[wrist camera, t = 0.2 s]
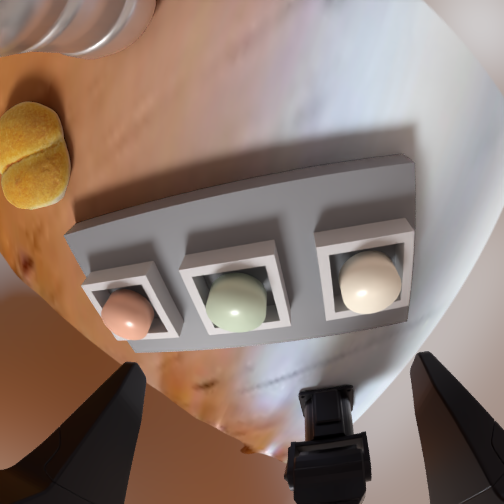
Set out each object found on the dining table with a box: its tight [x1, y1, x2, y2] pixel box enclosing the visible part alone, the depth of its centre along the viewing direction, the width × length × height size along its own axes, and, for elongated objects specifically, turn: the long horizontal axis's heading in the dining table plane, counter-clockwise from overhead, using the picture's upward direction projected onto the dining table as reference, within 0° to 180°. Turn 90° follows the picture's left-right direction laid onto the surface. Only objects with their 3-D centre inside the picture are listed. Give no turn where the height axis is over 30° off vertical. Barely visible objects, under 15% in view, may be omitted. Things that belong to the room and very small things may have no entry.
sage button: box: [206, 273, 267, 333], centre depth 21 cm, size 4×4×2 cm
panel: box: [64, 154, 415, 353], centre depth 23 cm, size 14×26×4 cm, turn 104°
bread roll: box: [0, 102, 71, 210], centre depth 18 cm, size 8×9×4 cm
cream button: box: [339, 250, 401, 314], centre depth 19 cm, size 4×4×2 cm
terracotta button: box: [101, 289, 154, 340], centre depth 23 cm, size 4×4×2 cm
